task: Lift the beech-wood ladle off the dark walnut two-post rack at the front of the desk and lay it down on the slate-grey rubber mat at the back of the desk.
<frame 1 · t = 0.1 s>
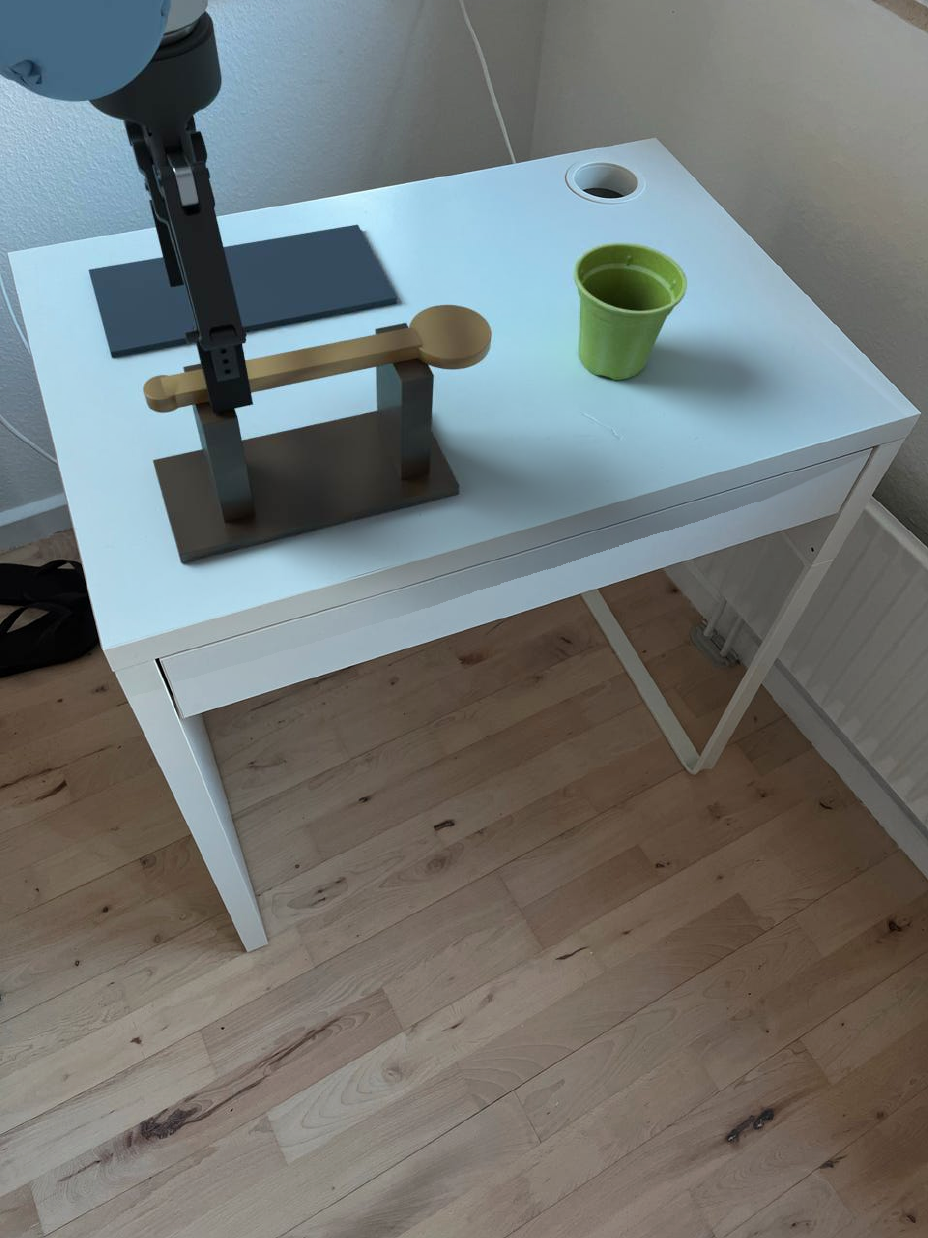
hand: (209, 341, 67), 11 cm above the table, tool pointing down, fingers open, 13 cm apart
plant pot: (610, 360, 85), on the table
mat: (243, 288, 87), on the table
ladle: (295, 373, 65), point 11 cm above the table, touching rack
rack: (307, 481, 74), on the table
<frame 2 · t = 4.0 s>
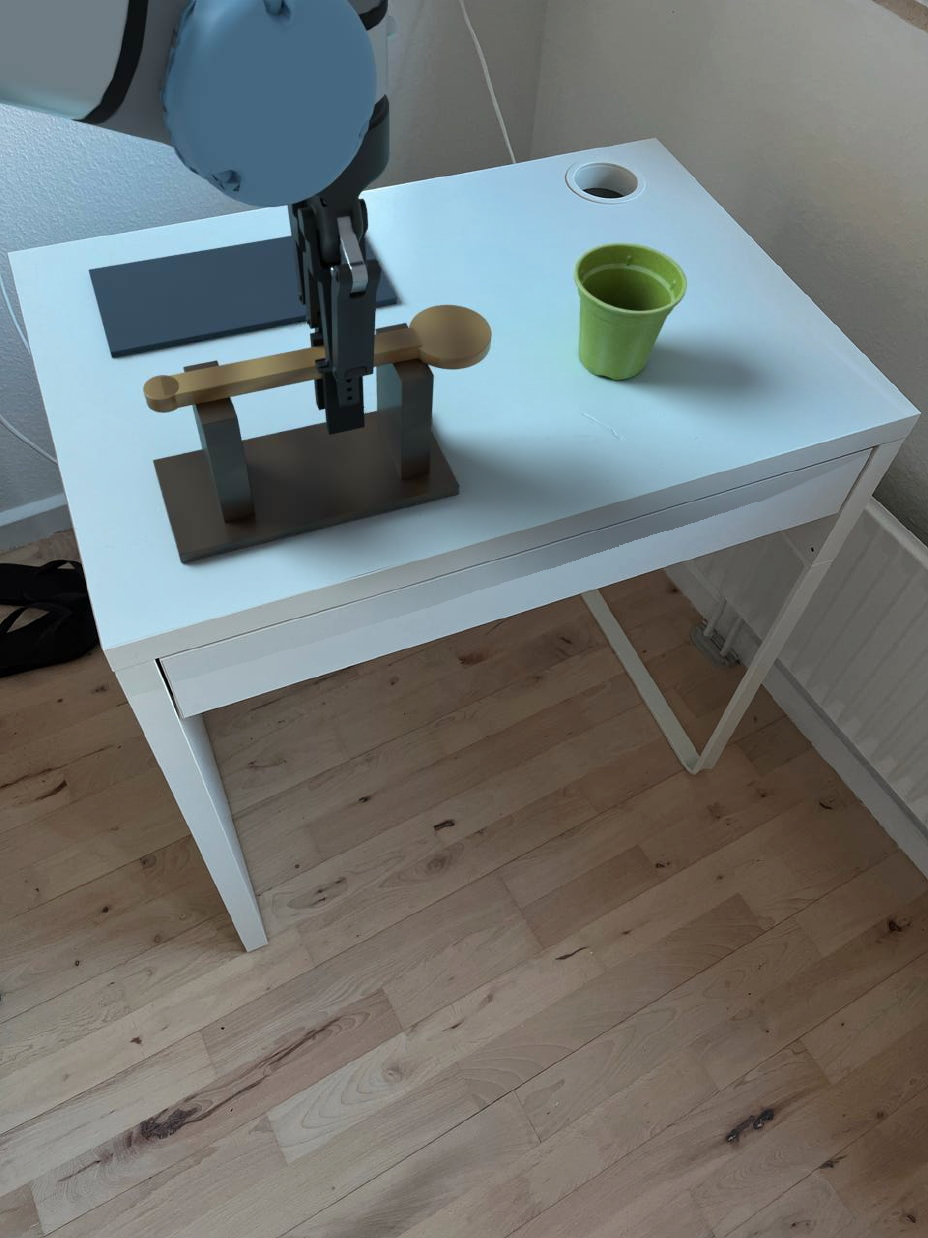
hand: (340, 414, 70), 6 cm above the table, tool pointing down, fingers closed on ladle, 2 cm apart
ladle: (295, 373, 65), point 11 cm above the table, touching gripper, rack
everything else where it was.
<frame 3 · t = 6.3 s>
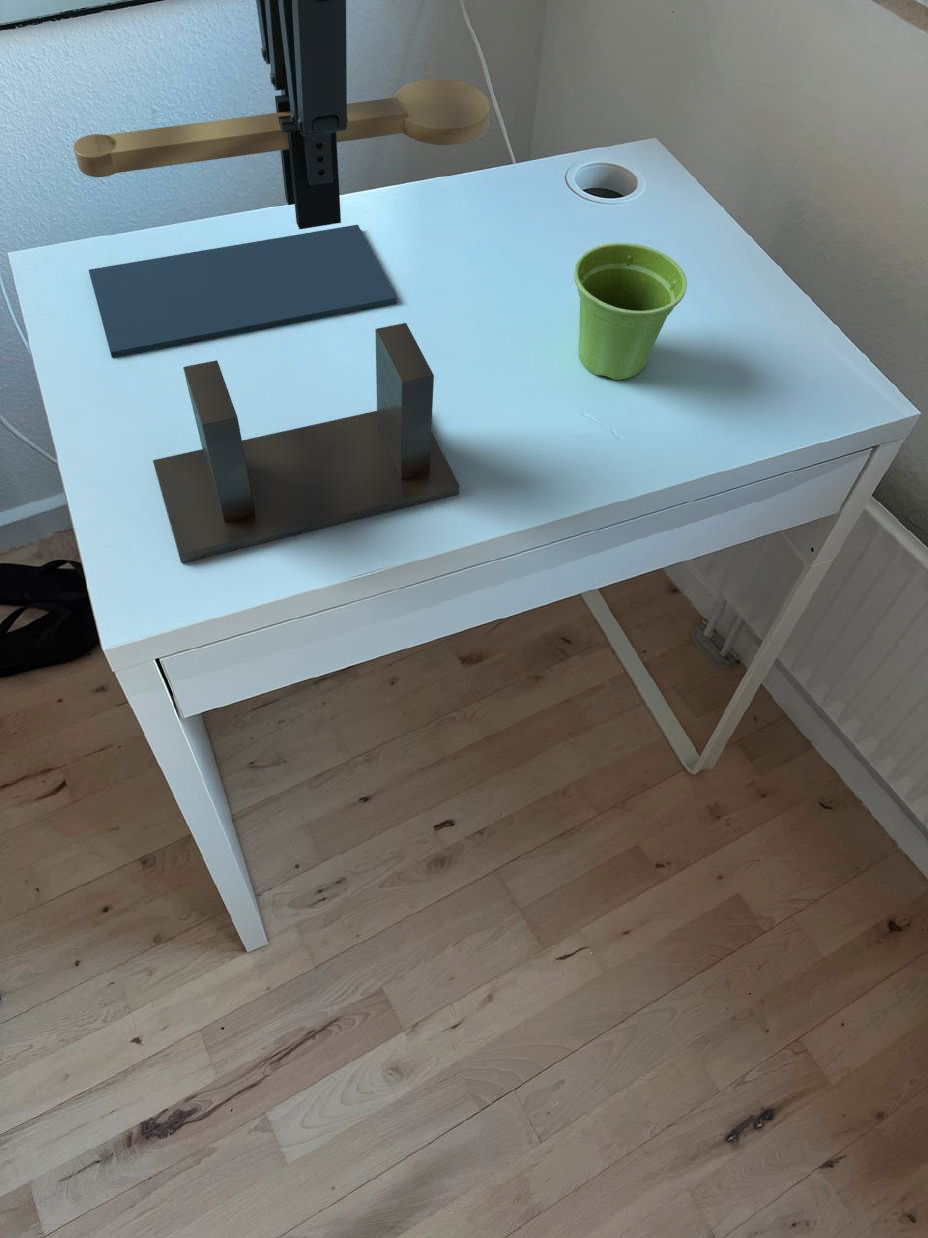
hand: (313, 209, 60), 21 cm above the table, tool pointing down, fingers closed on ladle, 2 cm apart
ladle: (258, 144, 55), point 25 cm above the table, touching gripper
everything else where it was.
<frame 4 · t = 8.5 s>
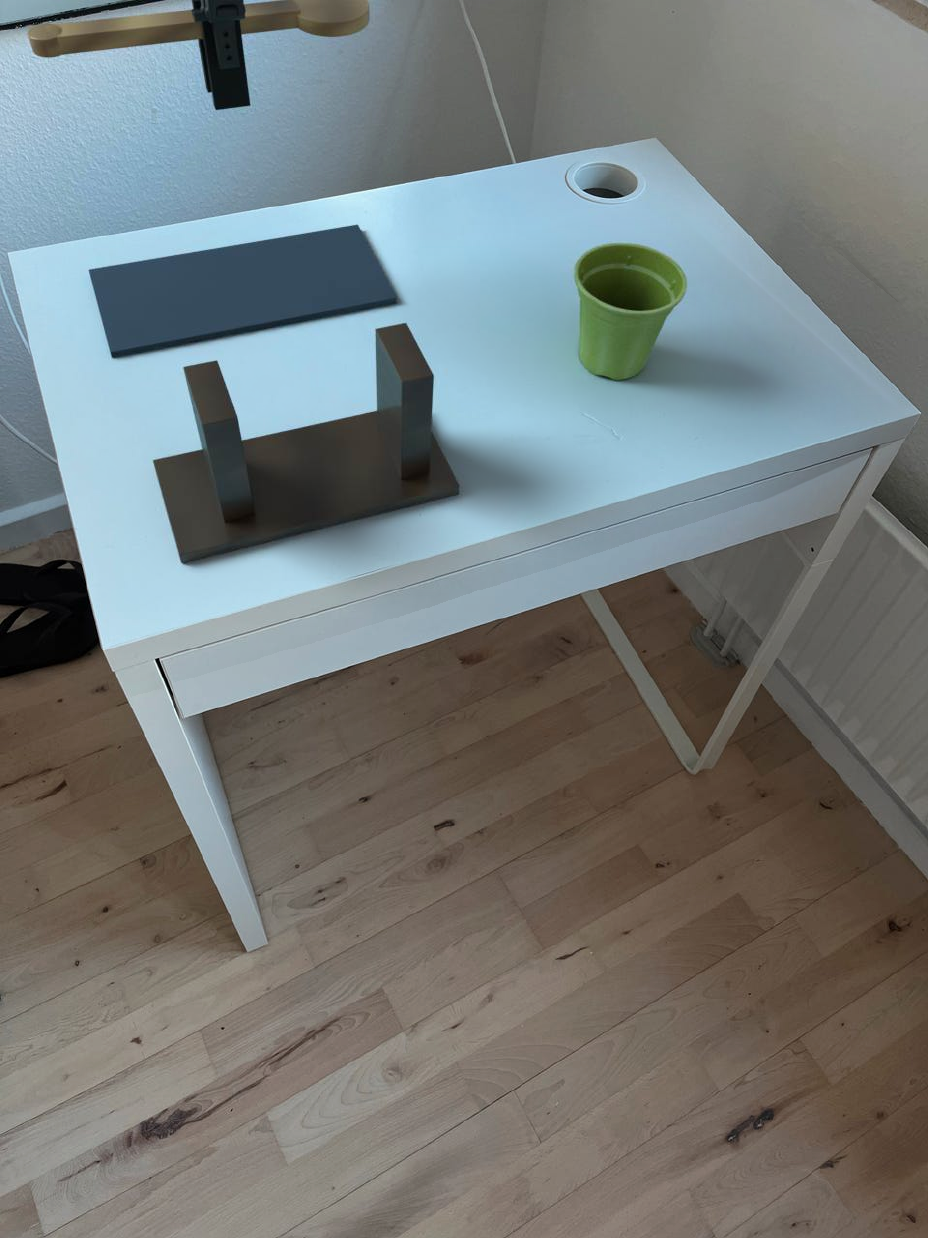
hand: (228, 95, 73), 17 cm above the table, tool pointing down, fingers closed on ladle, 2 cm apart
ladle: (178, 35, 69), point 22 cm above the table, touching gripper
everything else where it was.
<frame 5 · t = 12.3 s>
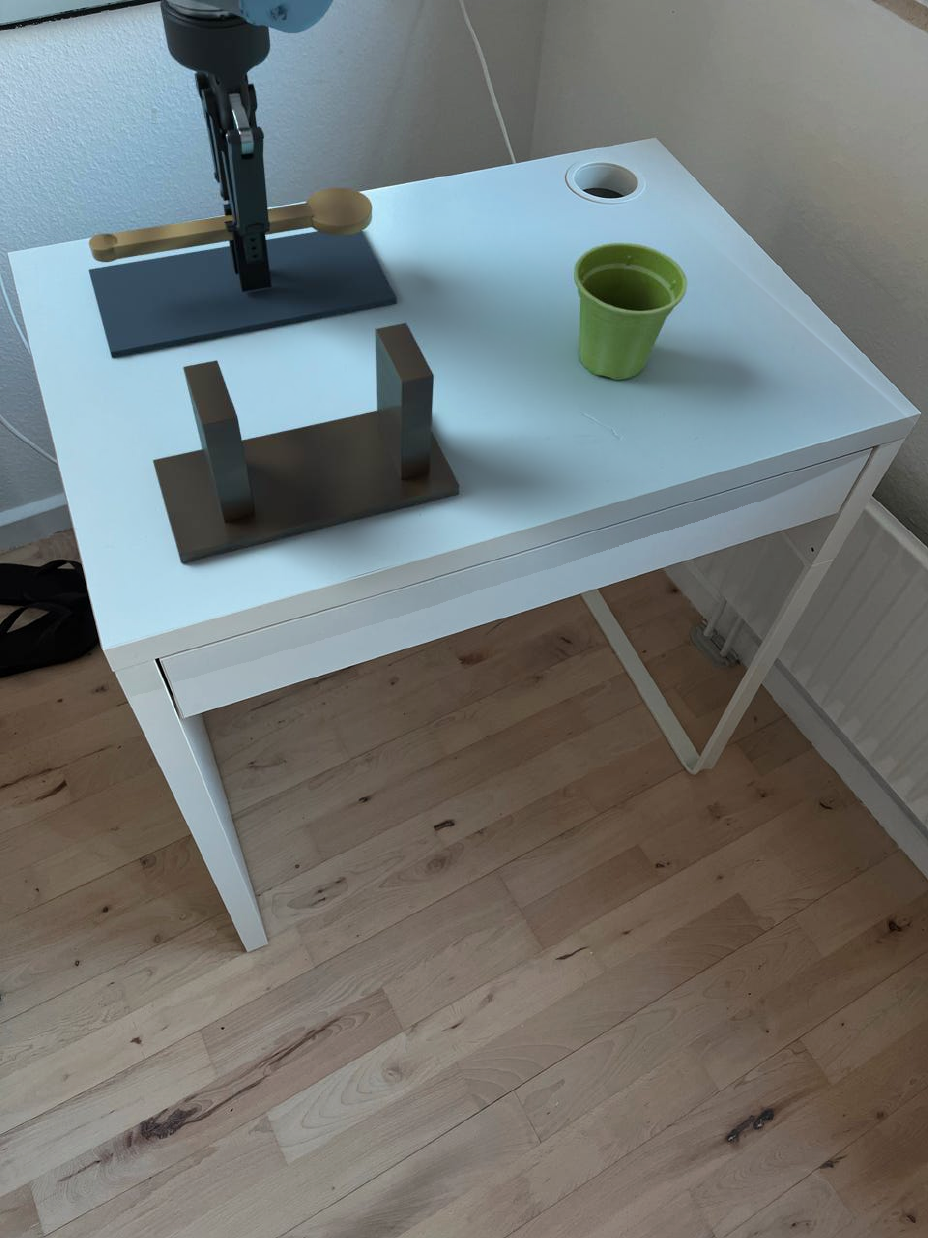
hand: (252, 277, 87), 1 cm above the table, tool pointing down, fingers closed on ladle, 2 cm apart
ladle: (212, 236, 82), point 6 cm above the table, touching gripper
everything else where it was.
when the fingers open (1 cm above the table, at t = 13.2 s): ladle drops 6 cm, resting on mat.
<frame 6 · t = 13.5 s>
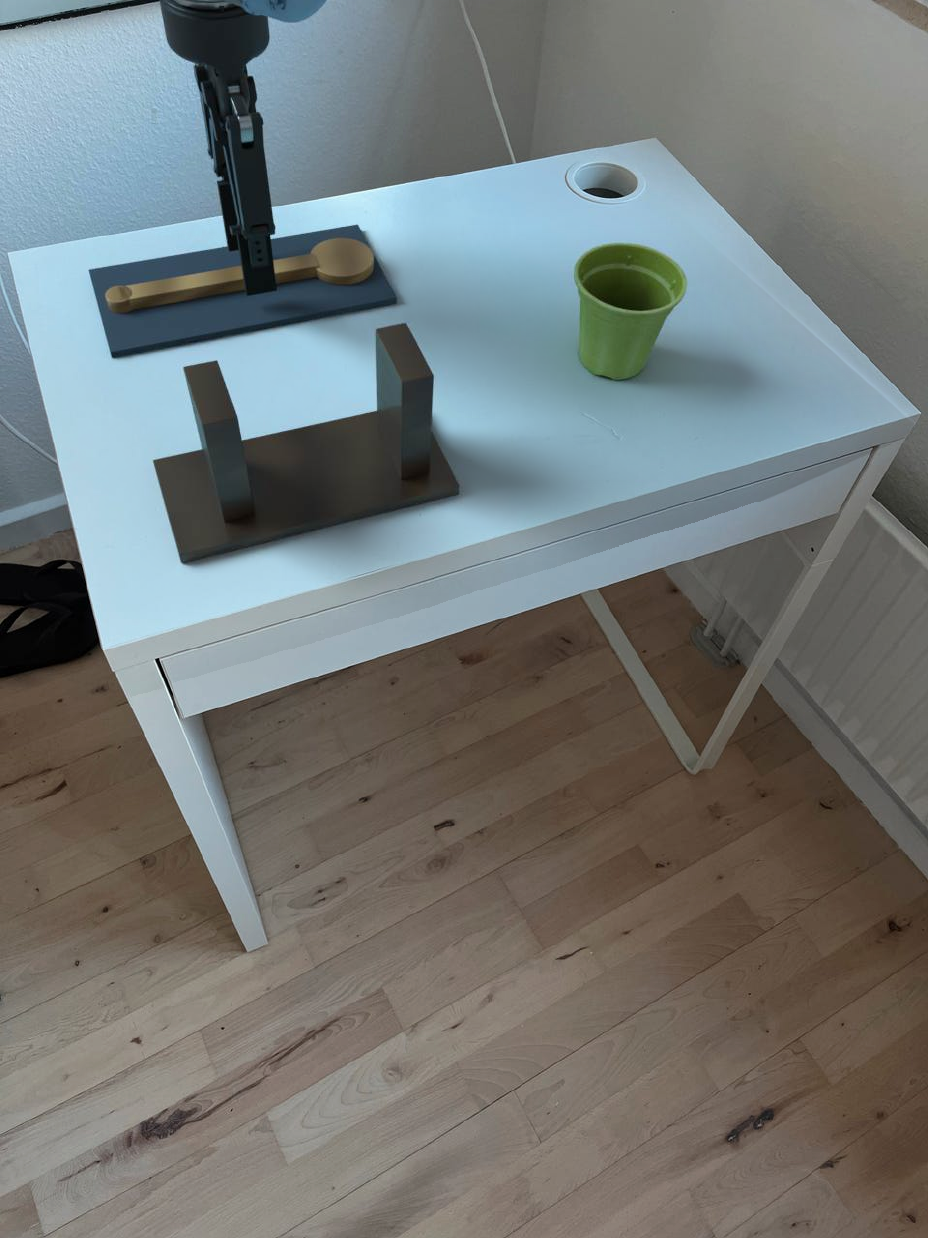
hand: (251, 267, 86), 2 cm above the table, tool pointing down, fingers open, 6 cm apart
ladle: (222, 287, 86), point 1 cm above the table, touching mat
everything else where it was.
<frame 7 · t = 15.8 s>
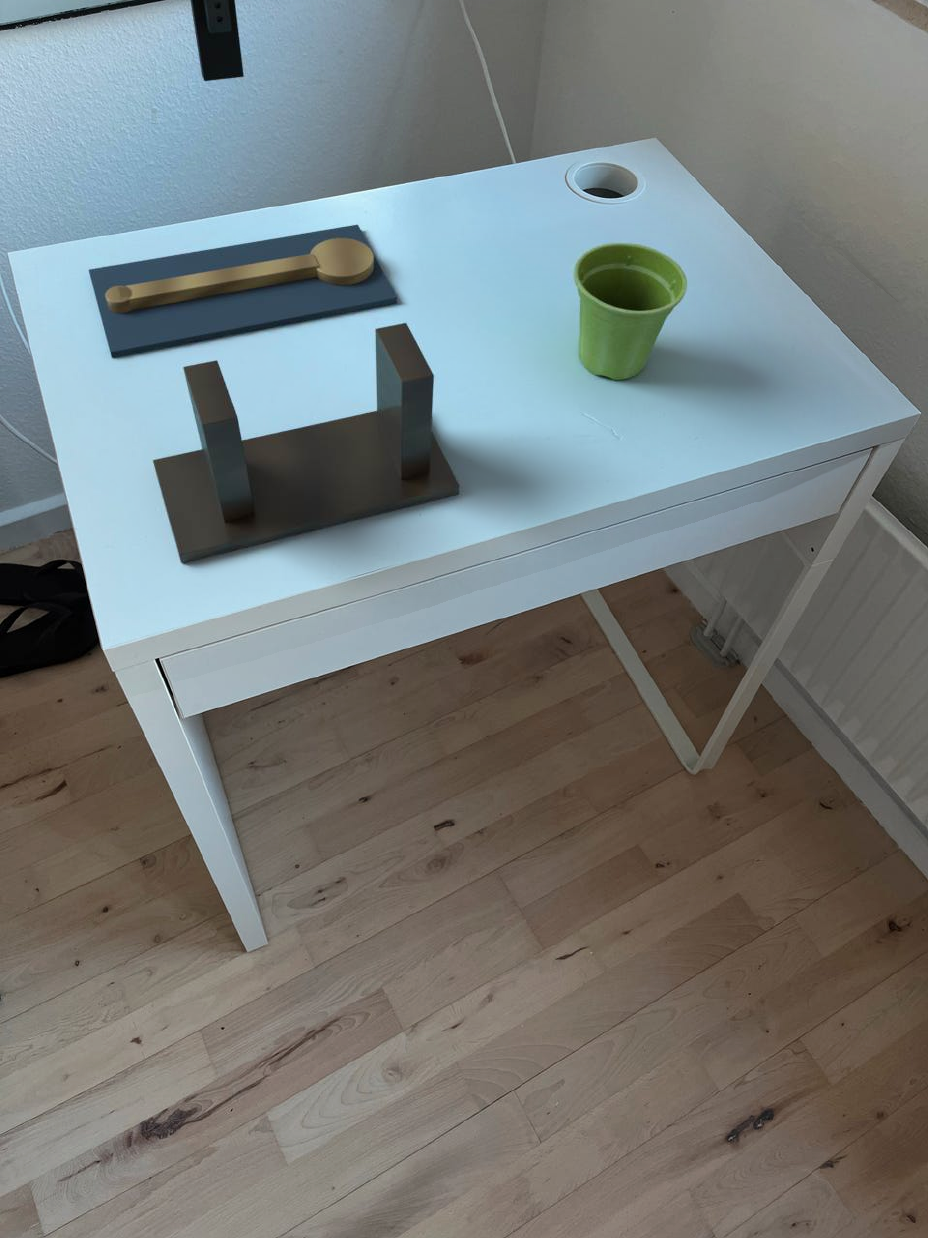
hand: (201, 31, 68), 23 cm above the table, tool pointing down, fingers open, 13 cm apart
nothing on the table moved.
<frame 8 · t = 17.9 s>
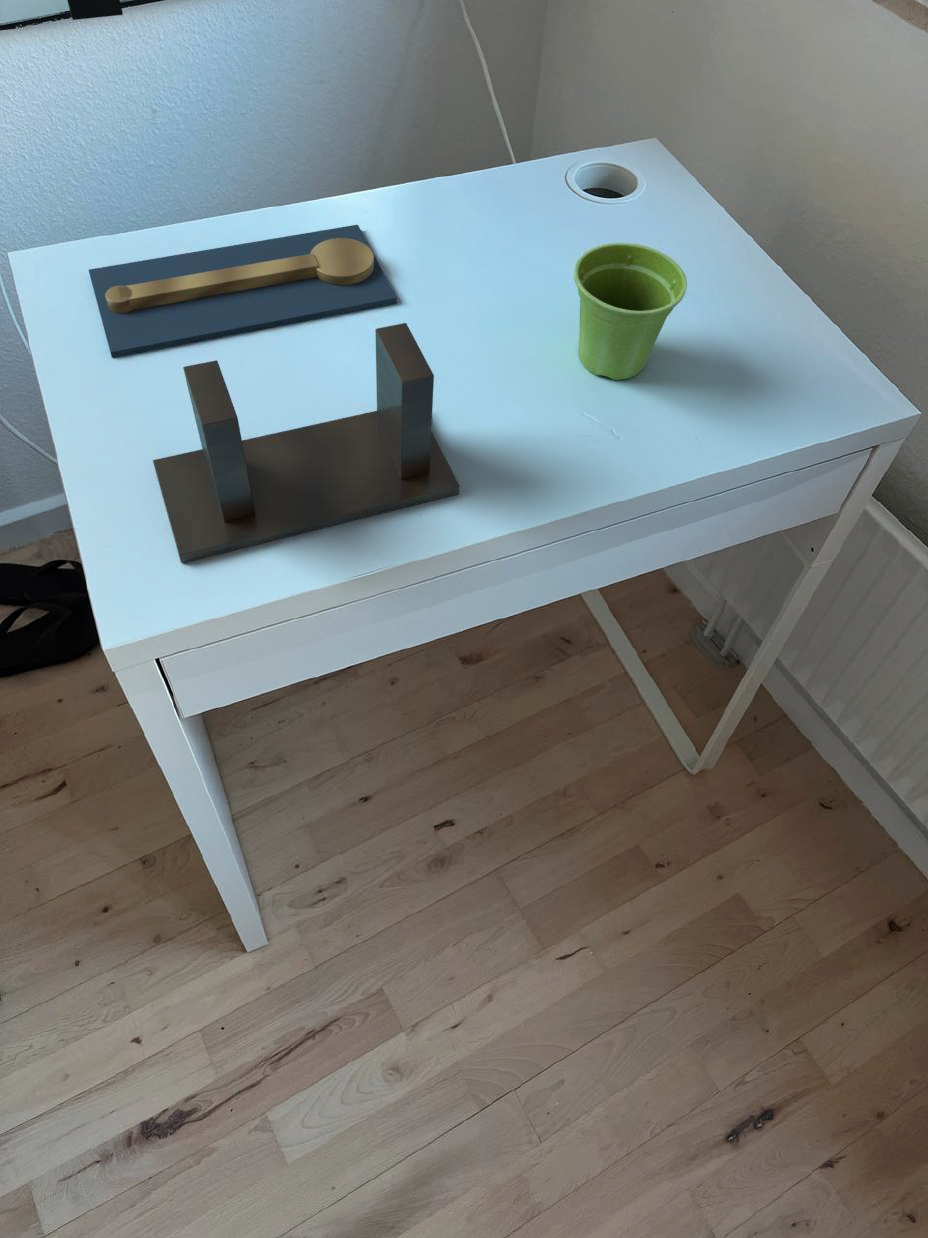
nothing on the table moved.
at the end: ladle inside the target area on the mat (1.9 cm from its centre), point 0.6 cm above the mat's base; ladle tilted 0°; ladle touching mat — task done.
